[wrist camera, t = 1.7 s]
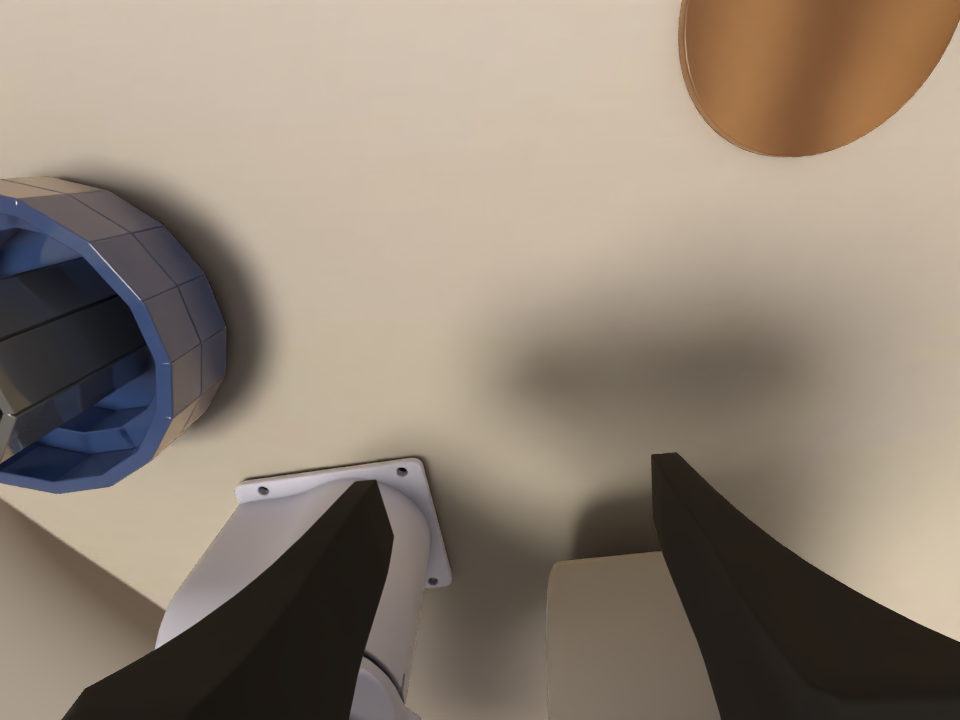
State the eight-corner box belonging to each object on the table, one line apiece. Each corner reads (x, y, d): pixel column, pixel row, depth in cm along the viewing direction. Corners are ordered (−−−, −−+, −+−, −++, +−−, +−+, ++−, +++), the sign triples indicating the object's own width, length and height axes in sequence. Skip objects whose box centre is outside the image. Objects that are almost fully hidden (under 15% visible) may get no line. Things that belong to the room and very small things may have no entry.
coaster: (680, 177, 19) (686, 178, 18) (673, -124, 16) (679, -134, 15) (933, 131, 18) (947, 131, 18) (983, -197, 15) (1001, -210, 14)
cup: (64, 387, 23) (-107, 481, 16) (0, 272, 21) (-224, 326, 14) (174, 370, 22) (42, 459, 16) (120, 249, 20) (-56, 295, 14)
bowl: (45, 448, 25) (-46, 509, 20) (-98, 207, 20) (-250, 222, 16) (268, 415, 24) (219, 471, 19) (167, 153, 19) (77, 153, 15)
